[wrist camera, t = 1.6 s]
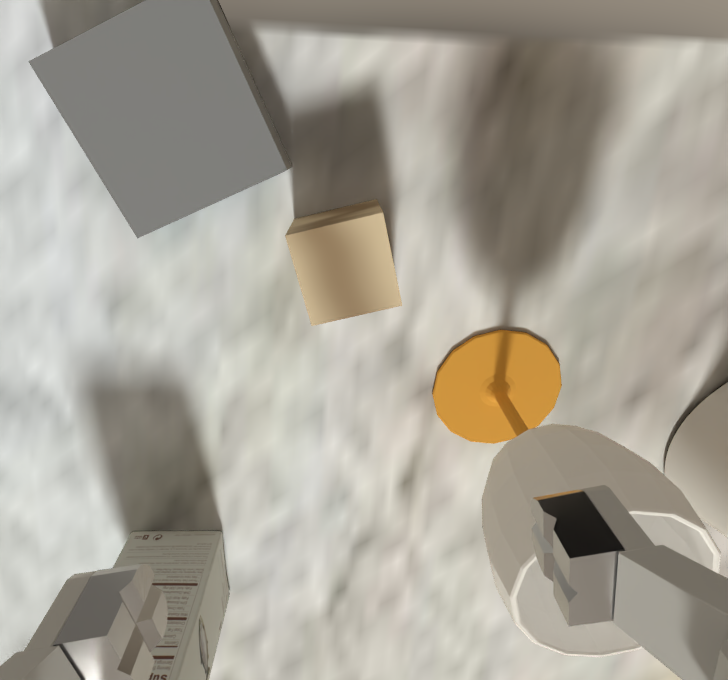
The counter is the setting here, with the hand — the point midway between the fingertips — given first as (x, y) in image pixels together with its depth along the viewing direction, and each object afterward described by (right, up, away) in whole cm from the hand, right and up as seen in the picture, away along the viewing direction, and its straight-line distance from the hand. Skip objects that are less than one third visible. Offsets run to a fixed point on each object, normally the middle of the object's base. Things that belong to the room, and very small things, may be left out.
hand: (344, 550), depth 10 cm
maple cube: (-1, +10, +19) cm, 22 cm away
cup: (+10, +1, +24) cm, 26 cm away
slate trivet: (-10, +17, +16) cm, 25 cm away
